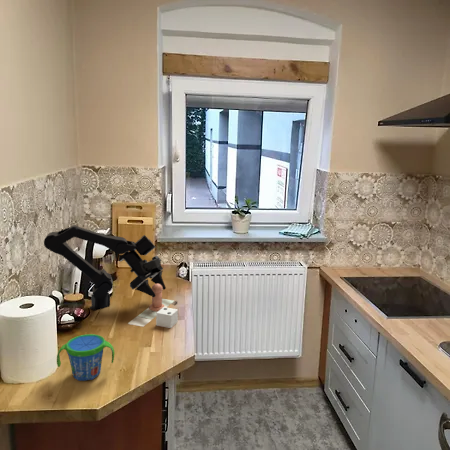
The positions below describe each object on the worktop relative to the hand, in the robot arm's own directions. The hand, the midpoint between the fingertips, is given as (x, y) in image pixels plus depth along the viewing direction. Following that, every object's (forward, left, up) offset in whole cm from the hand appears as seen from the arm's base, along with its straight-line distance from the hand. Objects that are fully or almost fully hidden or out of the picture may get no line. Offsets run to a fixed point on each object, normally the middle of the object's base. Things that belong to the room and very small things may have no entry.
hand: (160, 292), depth 158 cm
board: (-4, 0, -8) cm, 9 cm away
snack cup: (-44, -22, -8) cm, 50 cm away
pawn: (-1, +1, -7) cm, 7 cm away
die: (-7, -13, -8) cm, 16 cm away
